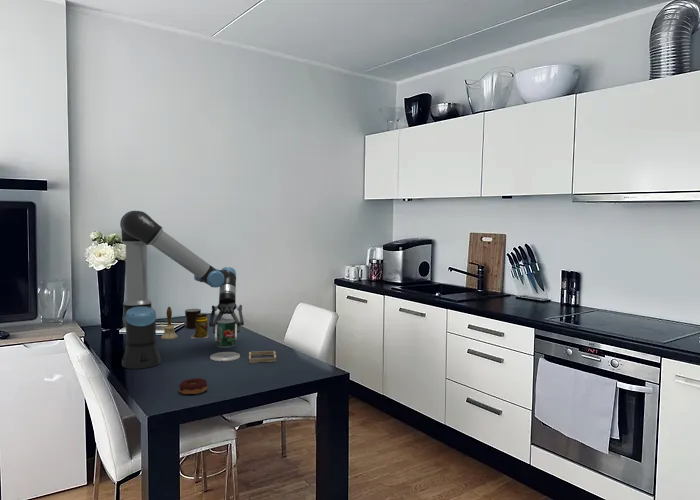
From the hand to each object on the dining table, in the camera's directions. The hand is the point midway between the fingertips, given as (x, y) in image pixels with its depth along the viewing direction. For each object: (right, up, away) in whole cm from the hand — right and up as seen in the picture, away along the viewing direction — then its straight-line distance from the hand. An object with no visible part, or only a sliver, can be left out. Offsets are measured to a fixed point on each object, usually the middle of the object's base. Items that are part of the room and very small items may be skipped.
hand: (226, 338), depth 220 cm
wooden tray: (+16, -9, +1) cm, 18 cm away
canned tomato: (-1, -4, +4) cm, 5 cm away
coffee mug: (-34, -5, +63) cm, 72 cm away
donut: (-2, -12, -40) cm, 42 cm away
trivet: (-1, -9, +4) cm, 10 cm away
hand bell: (-39, -6, +39) cm, 55 cm away
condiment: (-24, -7, +41) cm, 48 cm away
